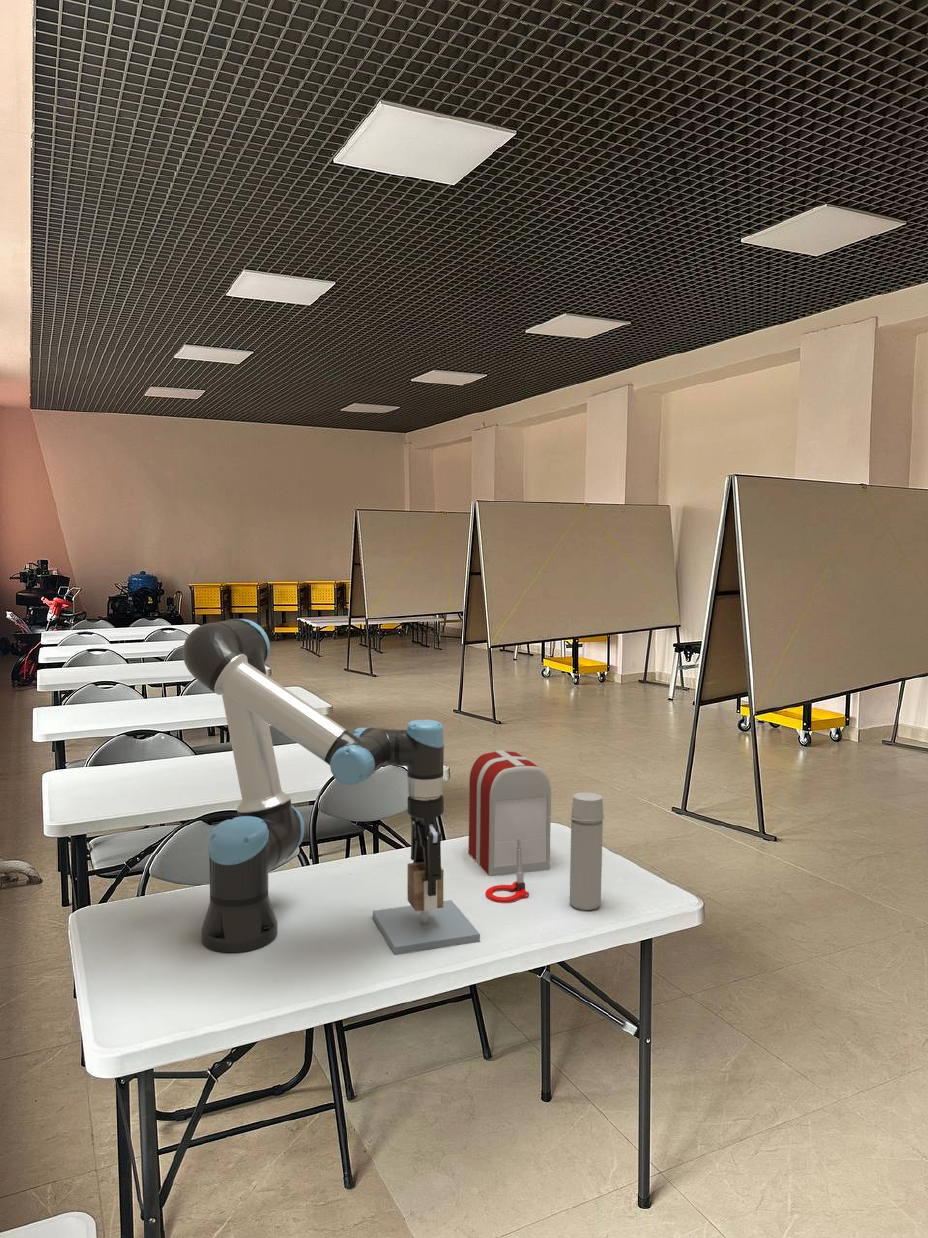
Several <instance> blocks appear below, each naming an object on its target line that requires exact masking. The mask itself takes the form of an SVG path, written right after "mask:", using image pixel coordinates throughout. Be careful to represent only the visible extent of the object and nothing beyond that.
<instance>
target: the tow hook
mask: <svg viewBox="0 0 928 1238" xmlns="http://www.w3.org/2000/svg"><path fill="white" fill-rule="evenodd" d="M515 875H516V881H514V882H513V883H512V884H497V885H493V886H491V887H488V888H487V889H486V890H485V897H486V899H487V900H490V901H491V902H495V903H503V904H505V903H513V902H515V901H518V900H520V899H521V898H524V899H527V898H529V897H530V892H528V891H527V890H526V883H525V880H524V879H525V877H524V875H525V874H524V873H523V871H522V848H521V840H520V839H517V872H516V874H515ZM499 891H510V892H514V891H515V893H514V894H512V895H509V896H498V895H495V894H494V893H496V892H499Z"/></svg>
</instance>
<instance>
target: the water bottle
mask: <svg viewBox="0 0 928 1238" xmlns="http://www.w3.org/2000/svg"><path fill="white" fill-rule="evenodd" d="M572 796H573V797H572V807H571V814H569V815H568V818H569V819H570V820H571V821H570V862H569V863H570V866H569V867H570V869H569V905H571V906H572V907H573V908H574V909H578V910H581V911H591V910H596V909H598V908H600V906H601V903H602V876H603V875H602V872H603V871H602V869H603V830H604V827H603V826H604V825H603V824H604V822H603V820H604V819H605V816H604V804H603V802H604V801H603V796H602V795H601V794H598V793H595V792H584V791H583V792H577V793H574V794H573V795H572Z"/></svg>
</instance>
